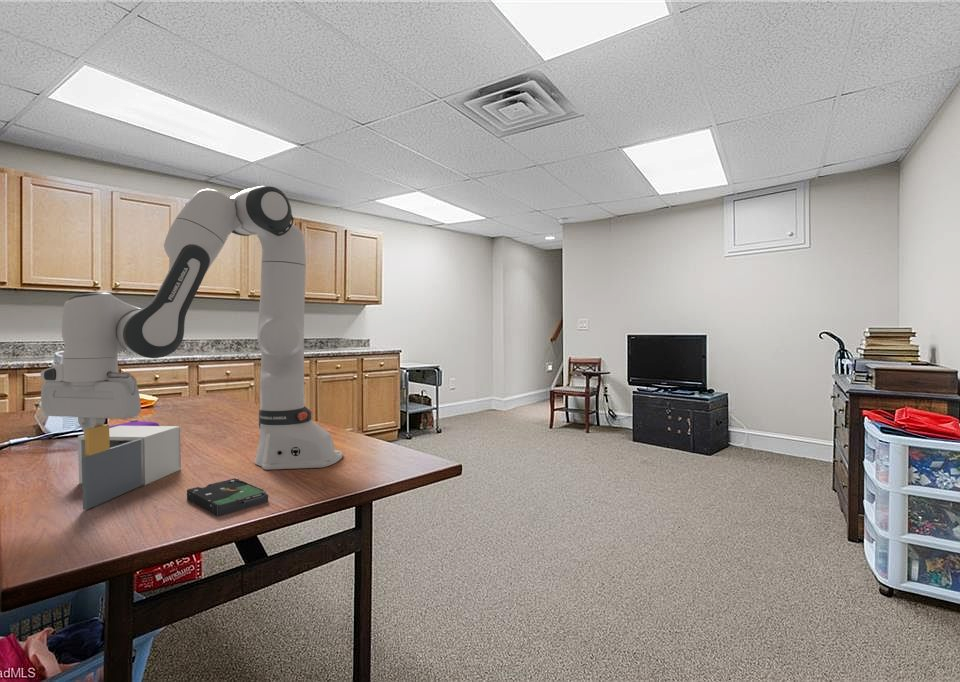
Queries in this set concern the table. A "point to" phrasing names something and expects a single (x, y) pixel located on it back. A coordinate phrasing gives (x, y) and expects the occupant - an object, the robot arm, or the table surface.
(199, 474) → the table surface
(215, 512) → the disk drive
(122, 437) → the box
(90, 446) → the side door
